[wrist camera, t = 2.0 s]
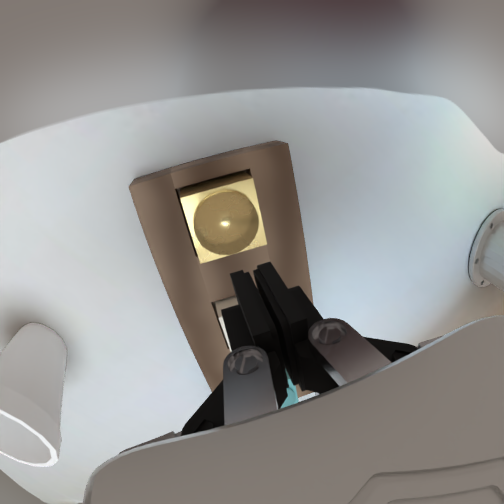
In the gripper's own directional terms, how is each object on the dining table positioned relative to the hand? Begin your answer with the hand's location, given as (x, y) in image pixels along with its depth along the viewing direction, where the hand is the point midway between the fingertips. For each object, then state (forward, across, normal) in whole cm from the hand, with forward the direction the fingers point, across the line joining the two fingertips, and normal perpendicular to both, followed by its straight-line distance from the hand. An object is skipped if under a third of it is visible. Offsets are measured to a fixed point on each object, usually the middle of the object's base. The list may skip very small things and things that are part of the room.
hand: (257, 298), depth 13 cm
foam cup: (+15, +23, +9) cm, 29 cm away
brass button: (+13, 0, 0) cm, 13 cm away
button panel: (+15, 0, +10) cm, 18 cm away
